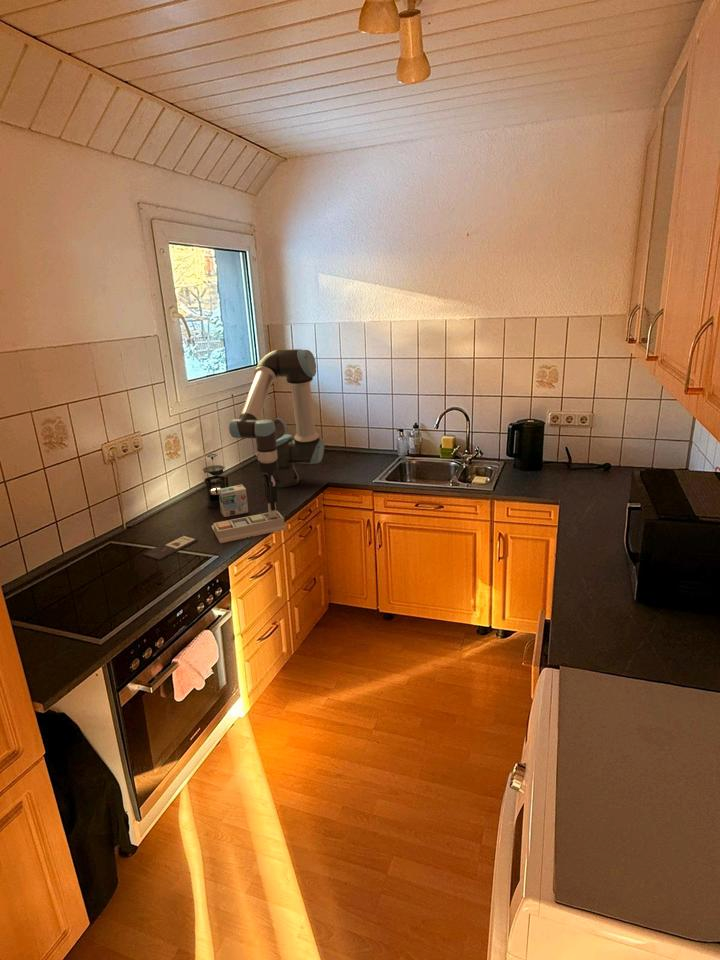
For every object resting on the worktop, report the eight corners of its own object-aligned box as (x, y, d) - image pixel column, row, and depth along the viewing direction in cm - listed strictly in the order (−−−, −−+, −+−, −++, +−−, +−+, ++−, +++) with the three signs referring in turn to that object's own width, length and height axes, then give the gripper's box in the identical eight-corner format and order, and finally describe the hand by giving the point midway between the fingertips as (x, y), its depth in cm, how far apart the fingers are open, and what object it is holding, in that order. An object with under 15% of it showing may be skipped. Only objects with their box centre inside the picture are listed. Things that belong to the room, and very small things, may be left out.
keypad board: (274, 515, 234) (273, 506, 233) (286, 529, 220) (285, 519, 219) (211, 527, 224) (210, 518, 223) (220, 543, 210) (219, 533, 209)
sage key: (261, 518, 224) (260, 514, 223) (264, 522, 220) (263, 518, 220) (250, 520, 222) (249, 516, 222) (253, 524, 218) (252, 520, 218)
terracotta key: (228, 524, 219) (228, 521, 218) (231, 528, 215) (230, 525, 214) (217, 527, 217) (216, 523, 217) (219, 531, 213) (219, 527, 213)
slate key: (245, 524, 222) (245, 520, 221) (248, 528, 218) (247, 524, 217) (234, 526, 220) (233, 522, 220) (236, 530, 216) (236, 527, 216)
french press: (215, 510, 241) (209, 459, 234) (201, 506, 247) (194, 456, 239) (236, 501, 250) (230, 452, 243) (222, 498, 256) (216, 449, 248)
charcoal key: (277, 518, 227) (276, 514, 226) (280, 521, 223) (280, 518, 222) (266, 520, 225) (265, 516, 225) (269, 524, 221) (269, 520, 221)
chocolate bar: (142, 553, 203) (181, 535, 217) (143, 556, 203) (181, 537, 217) (159, 559, 198) (197, 539, 212) (159, 561, 198) (198, 542, 213)
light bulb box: (224, 517, 234) (221, 493, 230) (220, 512, 240) (217, 488, 236) (249, 512, 238) (246, 488, 235) (244, 507, 244) (242, 484, 241)
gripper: (253, 457, 220) (259, 513, 228) (262, 466, 209) (268, 524, 216) (272, 454, 223) (277, 509, 230) (282, 463, 212) (286, 520, 219)
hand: (272, 516), depth 223 cm, fingers closed
